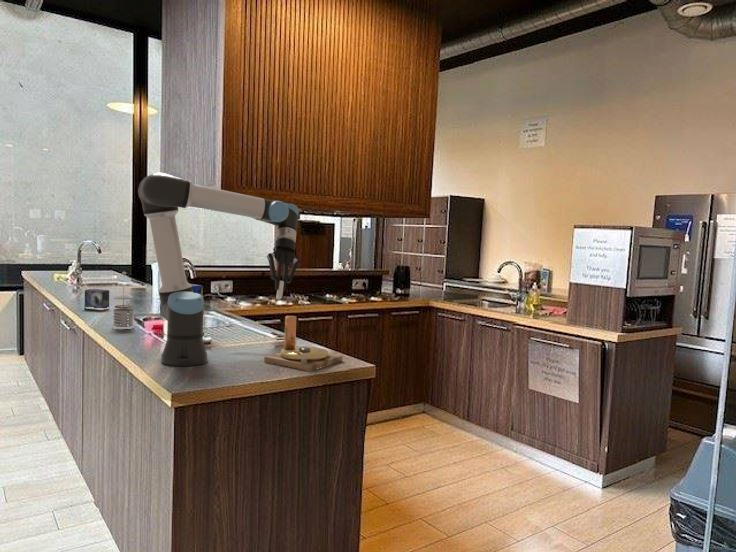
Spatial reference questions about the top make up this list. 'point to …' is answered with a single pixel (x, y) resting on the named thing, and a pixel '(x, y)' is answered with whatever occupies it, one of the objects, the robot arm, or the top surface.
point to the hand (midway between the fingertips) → (279, 298)
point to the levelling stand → (302, 361)
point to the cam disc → (295, 352)
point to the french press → (123, 311)
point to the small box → (97, 298)
